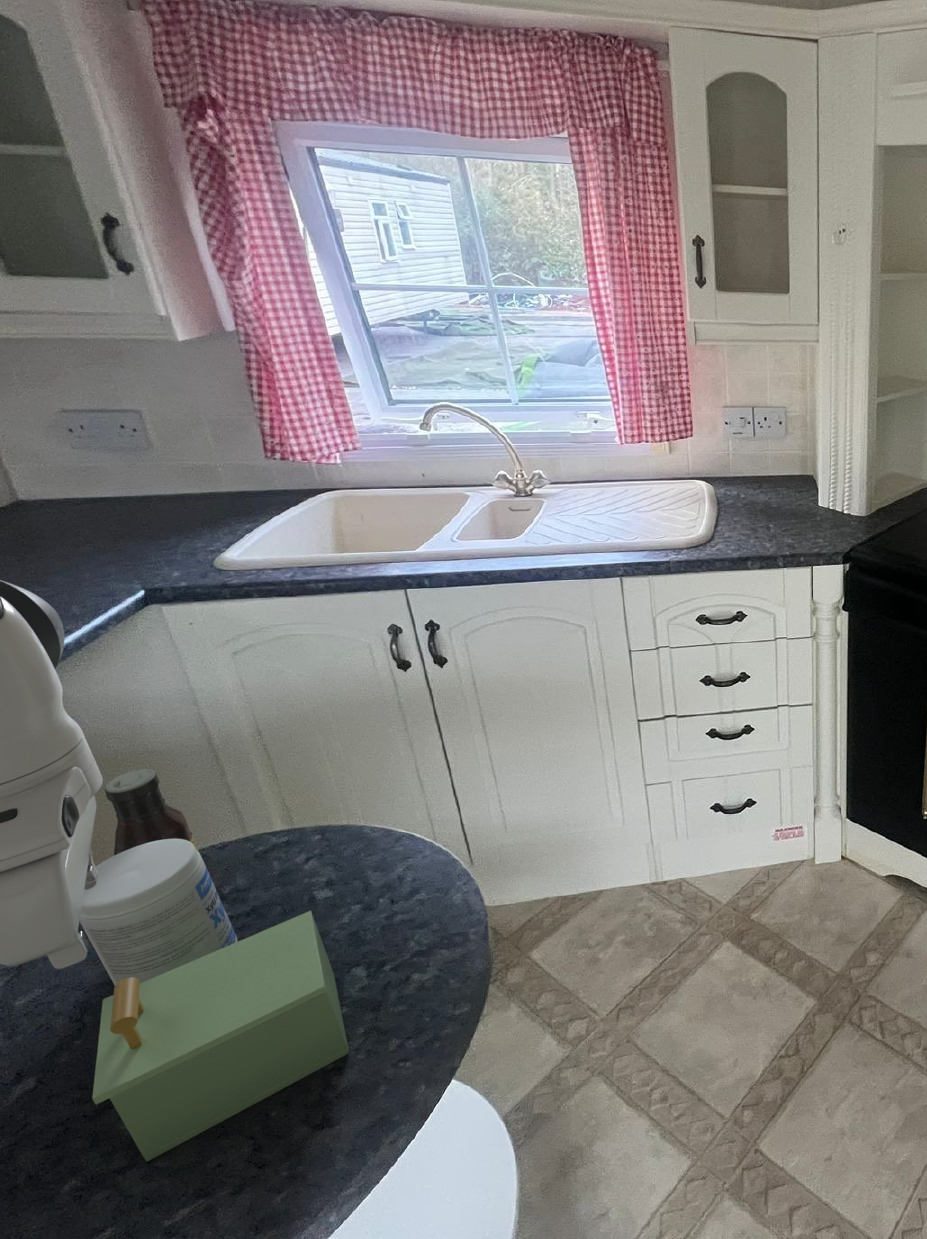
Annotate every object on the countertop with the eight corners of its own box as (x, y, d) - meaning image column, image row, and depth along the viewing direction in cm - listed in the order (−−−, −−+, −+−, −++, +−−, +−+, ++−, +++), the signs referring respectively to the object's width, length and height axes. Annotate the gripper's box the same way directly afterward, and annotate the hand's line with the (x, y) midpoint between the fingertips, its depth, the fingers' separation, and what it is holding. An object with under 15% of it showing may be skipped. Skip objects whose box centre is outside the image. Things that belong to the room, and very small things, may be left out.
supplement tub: (258, 952, 84) (217, 854, 79) (151, 1026, 76) (97, 921, 71) (210, 922, 88) (168, 825, 82) (102, 989, 80) (47, 886, 74)
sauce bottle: (131, 940, 85) (64, 804, 78) (167, 897, 91) (108, 766, 83) (199, 930, 87) (140, 796, 79) (231, 888, 92) (178, 759, 85)
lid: (95, 1105, 61) (74, 1068, 60) (105, 1005, 69) (87, 970, 67) (326, 992, 71) (313, 958, 69) (312, 915, 79) (300, 883, 77)
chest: (146, 1162, 65) (109, 1098, 62) (150, 1061, 73) (118, 999, 70) (349, 1053, 74) (326, 992, 71) (333, 974, 82) (312, 916, 79)
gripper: (-25, 739, 62) (39, 864, 67) (-85, 890, 48) (1, 1033, 53) (85, 712, 66) (137, 833, 71) (58, 845, 52) (125, 982, 57)
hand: (79, 920), depth 62 cm, fingers open, 8 cm apart
